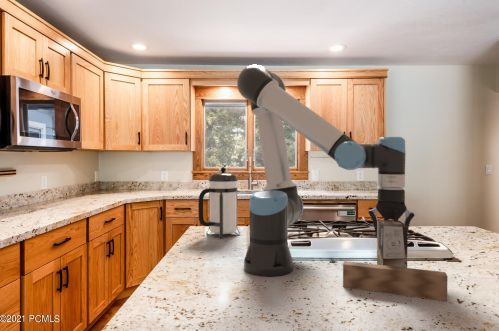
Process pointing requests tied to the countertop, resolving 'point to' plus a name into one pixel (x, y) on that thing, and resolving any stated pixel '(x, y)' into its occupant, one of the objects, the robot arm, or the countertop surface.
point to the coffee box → (392, 243)
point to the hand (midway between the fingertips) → (390, 266)
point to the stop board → (395, 280)
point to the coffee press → (221, 204)
